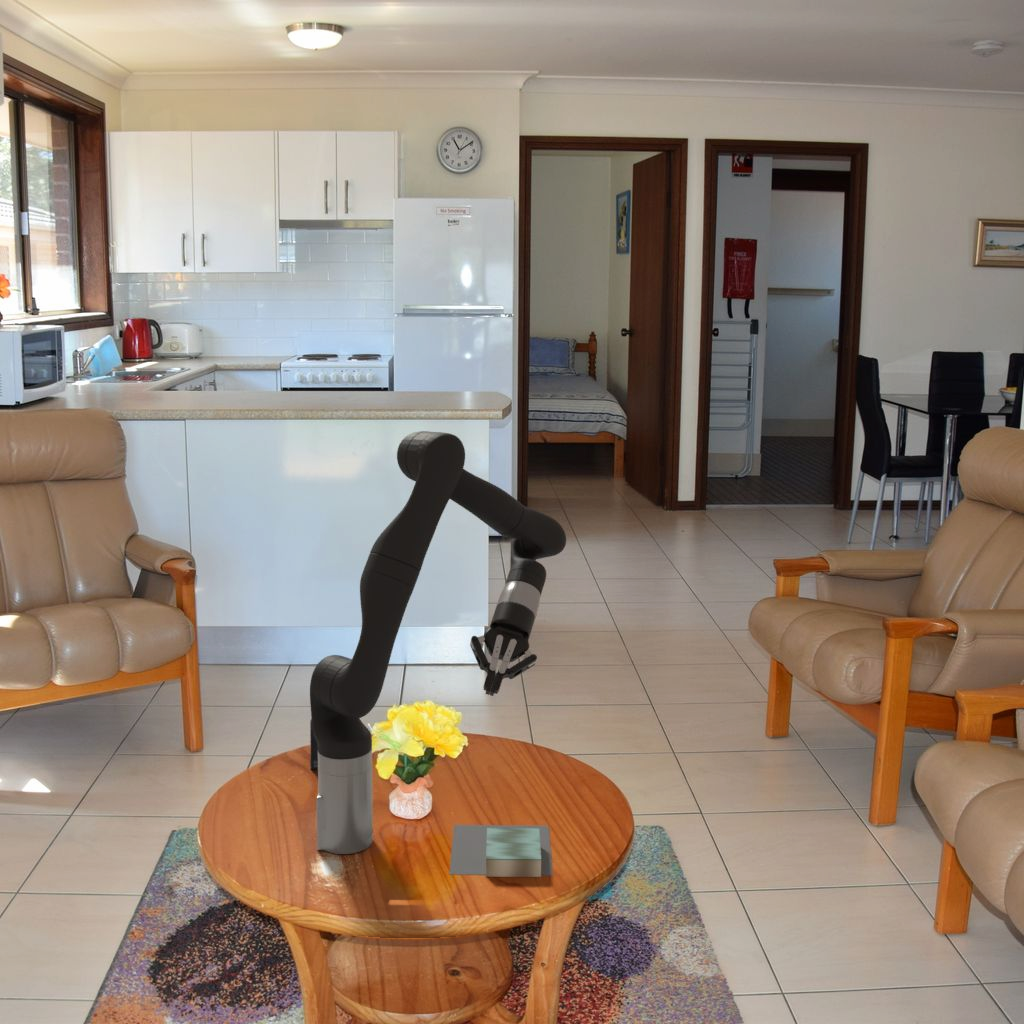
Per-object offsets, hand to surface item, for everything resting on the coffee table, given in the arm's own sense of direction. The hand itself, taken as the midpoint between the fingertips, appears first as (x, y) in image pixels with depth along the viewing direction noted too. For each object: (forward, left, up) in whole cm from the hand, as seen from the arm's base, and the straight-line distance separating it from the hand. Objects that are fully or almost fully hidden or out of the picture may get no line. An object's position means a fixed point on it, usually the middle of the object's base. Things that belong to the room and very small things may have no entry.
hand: (489, 693), depth 206 cm
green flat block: (+4, -9, -23) cm, 25 cm away
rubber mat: (+2, -10, -25) cm, 27 cm away
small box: (-33, +29, -25) cm, 50 cm away
